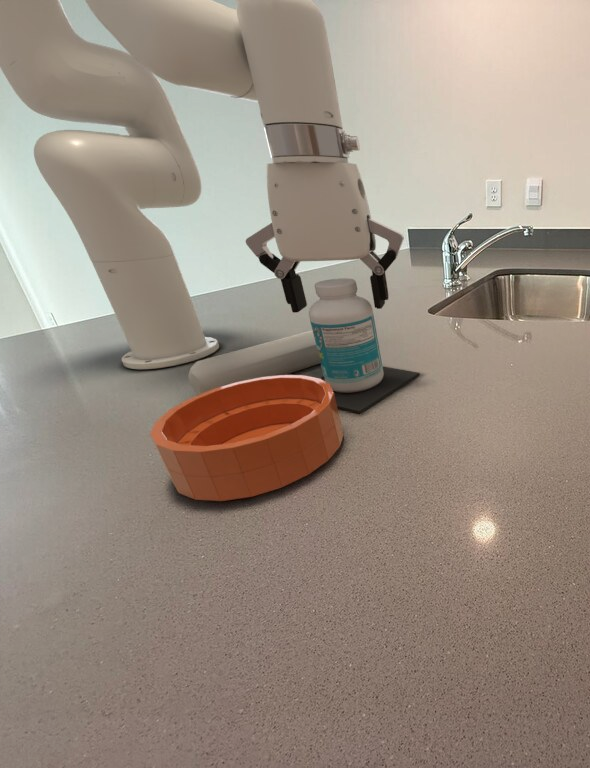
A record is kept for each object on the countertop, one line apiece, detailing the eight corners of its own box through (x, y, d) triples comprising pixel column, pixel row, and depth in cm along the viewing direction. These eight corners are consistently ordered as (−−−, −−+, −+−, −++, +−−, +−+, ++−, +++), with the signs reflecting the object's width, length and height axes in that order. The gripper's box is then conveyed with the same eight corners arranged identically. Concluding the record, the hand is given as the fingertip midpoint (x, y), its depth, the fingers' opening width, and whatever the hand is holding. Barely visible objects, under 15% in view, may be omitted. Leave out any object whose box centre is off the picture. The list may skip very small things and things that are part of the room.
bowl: (139, 480, 37) (113, 429, 35) (278, 408, 49) (265, 367, 47) (246, 525, 32) (224, 468, 30) (373, 432, 44) (364, 387, 42)
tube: (194, 379, 48) (375, 325, 66) (175, 356, 50) (355, 310, 68) (204, 412, 51) (374, 352, 69) (186, 389, 53) (355, 337, 71)
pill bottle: (336, 373, 58) (314, 277, 52) (389, 370, 58) (373, 275, 53) (318, 397, 51) (291, 289, 45) (378, 393, 52) (358, 287, 46)
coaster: (287, 397, 52) (286, 394, 52) (354, 363, 62) (354, 361, 62) (360, 414, 48) (359, 411, 48) (419, 375, 58) (419, 372, 57)
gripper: (396, 151, 47) (414, 297, 55) (240, 153, 46) (279, 303, 53) (386, 144, 40) (408, 312, 48) (201, 146, 39) (253, 319, 46)
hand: (340, 307), depth 50 cm, fingers open, 9 cm apart
